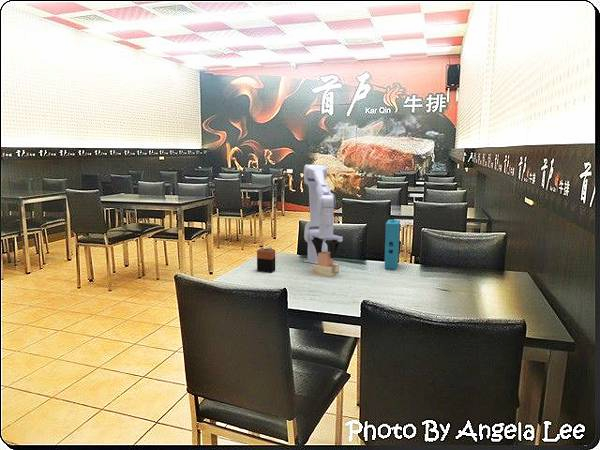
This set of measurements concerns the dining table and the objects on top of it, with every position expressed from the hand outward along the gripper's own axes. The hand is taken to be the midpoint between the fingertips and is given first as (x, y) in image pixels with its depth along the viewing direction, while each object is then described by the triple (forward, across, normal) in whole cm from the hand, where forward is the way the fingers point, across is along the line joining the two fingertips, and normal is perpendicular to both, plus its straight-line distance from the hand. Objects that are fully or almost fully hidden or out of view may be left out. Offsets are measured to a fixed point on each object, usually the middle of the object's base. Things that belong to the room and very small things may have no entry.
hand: (325, 257), depth 182 cm
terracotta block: (+3, 0, 0) cm, 3 cm away
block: (+7, +17, +26) cm, 32 cm away
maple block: (+7, 0, 0) cm, 7 cm away
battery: (+7, -22, -12) cm, 26 cm away
